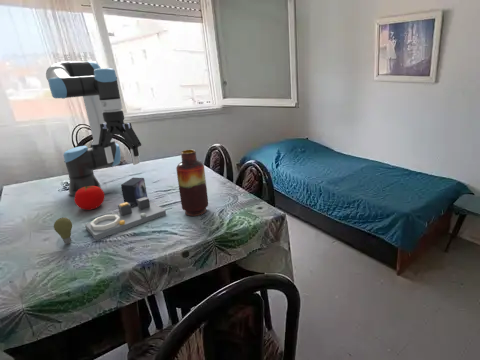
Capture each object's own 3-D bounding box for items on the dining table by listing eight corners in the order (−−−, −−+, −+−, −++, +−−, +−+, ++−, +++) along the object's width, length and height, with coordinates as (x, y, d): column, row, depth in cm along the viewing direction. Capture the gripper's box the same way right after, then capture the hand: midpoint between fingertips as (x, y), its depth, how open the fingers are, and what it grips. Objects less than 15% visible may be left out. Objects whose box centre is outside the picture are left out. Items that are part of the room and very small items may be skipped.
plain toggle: (138, 207, 128) (136, 199, 126) (147, 204, 130) (145, 196, 129) (141, 209, 125) (139, 201, 124) (150, 206, 128) (148, 198, 127)
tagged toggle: (119, 213, 123) (117, 204, 121) (129, 210, 125) (127, 201, 124) (122, 216, 121) (120, 206, 119) (132, 212, 123) (130, 203, 122)
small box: (137, 206, 134) (132, 185, 131) (124, 206, 136) (119, 184, 132) (148, 197, 144) (144, 177, 141) (136, 197, 145) (132, 177, 142)
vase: (213, 207, 128) (207, 148, 119) (202, 218, 118) (194, 155, 110) (190, 205, 132) (182, 147, 123) (177, 216, 122) (168, 154, 113)
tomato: (72, 212, 133) (66, 190, 130) (93, 201, 144) (88, 180, 141) (91, 214, 130) (85, 192, 126) (111, 203, 140) (106, 182, 137)
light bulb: (63, 240, 109) (56, 215, 106) (79, 238, 110) (72, 214, 106) (56, 248, 104) (48, 222, 101) (72, 246, 104) (65, 221, 101)
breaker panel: (86, 228, 117) (84, 220, 116) (152, 205, 134) (151, 198, 133) (96, 240, 108) (93, 231, 107) (166, 214, 124) (164, 206, 123)
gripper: (81, 112, 117) (93, 164, 124) (130, 111, 108) (141, 167, 115) (96, 110, 124) (107, 159, 131) (144, 108, 114) (153, 162, 121)
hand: (123, 163), depth 123 cm, fingers open, 13 cm apart
